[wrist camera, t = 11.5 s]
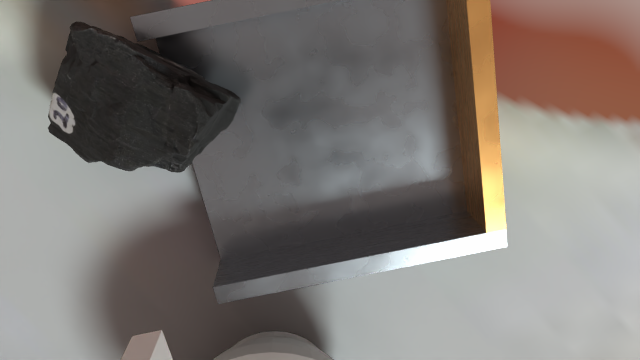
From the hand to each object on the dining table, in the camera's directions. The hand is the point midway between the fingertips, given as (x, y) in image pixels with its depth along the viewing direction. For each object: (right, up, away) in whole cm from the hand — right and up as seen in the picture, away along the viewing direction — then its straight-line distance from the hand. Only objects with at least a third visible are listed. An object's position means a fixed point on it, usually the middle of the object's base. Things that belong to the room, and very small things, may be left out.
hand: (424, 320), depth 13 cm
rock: (-7, +8, +15) cm, 19 cm away
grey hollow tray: (-2, +7, +19) cm, 21 cm away
